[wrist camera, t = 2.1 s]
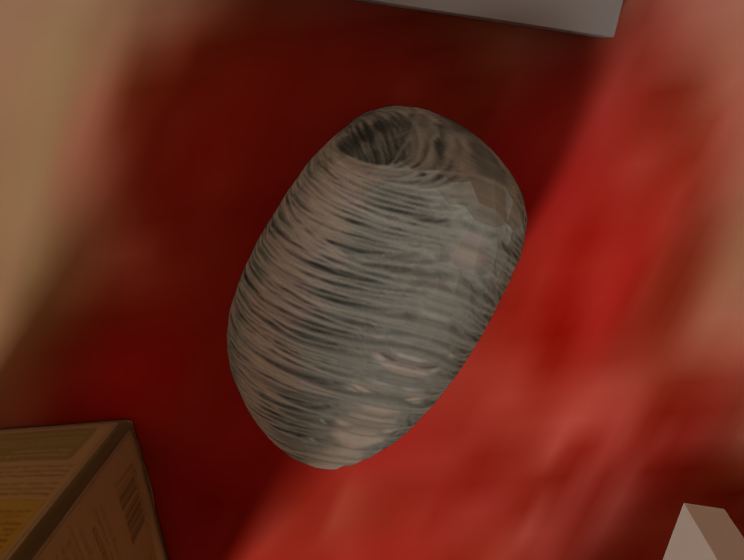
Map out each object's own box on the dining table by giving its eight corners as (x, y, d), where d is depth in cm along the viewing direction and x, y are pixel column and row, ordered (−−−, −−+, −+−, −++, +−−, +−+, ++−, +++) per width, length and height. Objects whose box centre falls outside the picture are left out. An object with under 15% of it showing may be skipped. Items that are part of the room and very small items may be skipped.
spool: (329, 11, 22) (403, 196, 15) (527, 119, 27) (649, 296, 20) (172, 282, 29) (176, 491, 23) (352, 329, 34) (399, 511, 28)
